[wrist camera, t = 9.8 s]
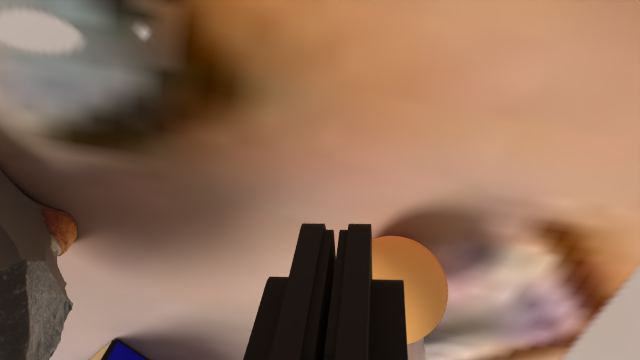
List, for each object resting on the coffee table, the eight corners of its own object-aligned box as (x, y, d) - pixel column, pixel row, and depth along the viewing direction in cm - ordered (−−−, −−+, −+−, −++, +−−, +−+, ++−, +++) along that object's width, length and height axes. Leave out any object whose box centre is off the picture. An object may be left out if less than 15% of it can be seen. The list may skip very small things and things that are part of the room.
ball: (343, 318, 30) (326, 232, 29) (434, 299, 30) (422, 212, 29) (357, 380, 24) (336, 276, 23) (470, 355, 24) (457, 250, 23)
